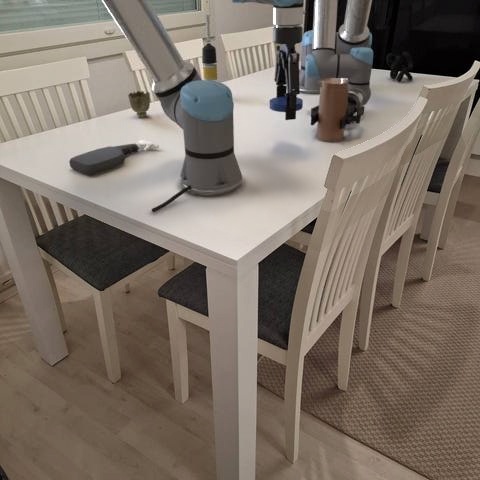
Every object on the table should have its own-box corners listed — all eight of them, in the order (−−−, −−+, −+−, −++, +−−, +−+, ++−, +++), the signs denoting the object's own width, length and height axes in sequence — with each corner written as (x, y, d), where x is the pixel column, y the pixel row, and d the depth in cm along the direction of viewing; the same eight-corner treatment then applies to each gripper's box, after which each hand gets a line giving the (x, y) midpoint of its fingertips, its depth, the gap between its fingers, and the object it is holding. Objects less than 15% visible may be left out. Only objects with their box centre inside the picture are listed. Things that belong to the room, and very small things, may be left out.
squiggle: (400, 92, 202) (376, 71, 205) (417, 76, 202) (392, 56, 205) (405, 81, 191) (380, 59, 194) (423, 64, 191) (397, 42, 194)
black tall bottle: (220, 99, 177) (217, 15, 161) (206, 100, 176) (202, 16, 160) (215, 96, 182) (212, 14, 166) (202, 97, 180) (197, 14, 164)
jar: (347, 136, 138) (353, 79, 129) (336, 143, 133) (342, 85, 124) (323, 131, 142) (327, 76, 133) (312, 139, 137) (316, 82, 128)
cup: (126, 117, 158) (123, 94, 154) (140, 112, 164) (137, 89, 160) (143, 120, 155) (140, 96, 151) (156, 114, 161) (153, 91, 157)
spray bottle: (67, 168, 120) (139, 144, 136) (91, 178, 114) (163, 151, 130) (65, 157, 118) (137, 134, 134) (89, 167, 112) (162, 142, 128)
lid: (287, 101, 129) (287, 94, 128) (309, 107, 123) (309, 100, 122) (262, 107, 125) (262, 100, 124) (284, 114, 119) (284, 107, 118)
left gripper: (316, 30, 104) (310, 124, 116) (290, 20, 123) (288, 102, 135) (285, 32, 103) (282, 127, 115) (263, 21, 122) (263, 104, 134)
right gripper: (379, 118, 145) (360, 140, 129) (317, 111, 154) (292, 130, 137) (382, 95, 141) (363, 114, 125) (319, 88, 150) (293, 105, 133)
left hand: (285, 114), depth 125 cm, fingers closed on lid, 9 cm apart
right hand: (326, 122), depth 131 cm, fingers closed on jar, 8 cm apart
